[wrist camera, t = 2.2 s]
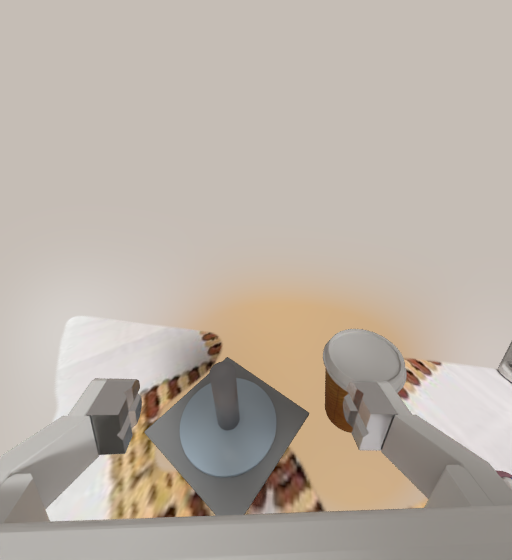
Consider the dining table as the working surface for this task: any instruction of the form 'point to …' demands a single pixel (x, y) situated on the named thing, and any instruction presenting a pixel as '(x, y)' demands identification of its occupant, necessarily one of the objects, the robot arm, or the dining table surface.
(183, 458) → the mat
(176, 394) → the dining table surface
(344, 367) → the disposable coffee cup
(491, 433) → the dining table surface
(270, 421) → the lid
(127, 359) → the dining table surface
